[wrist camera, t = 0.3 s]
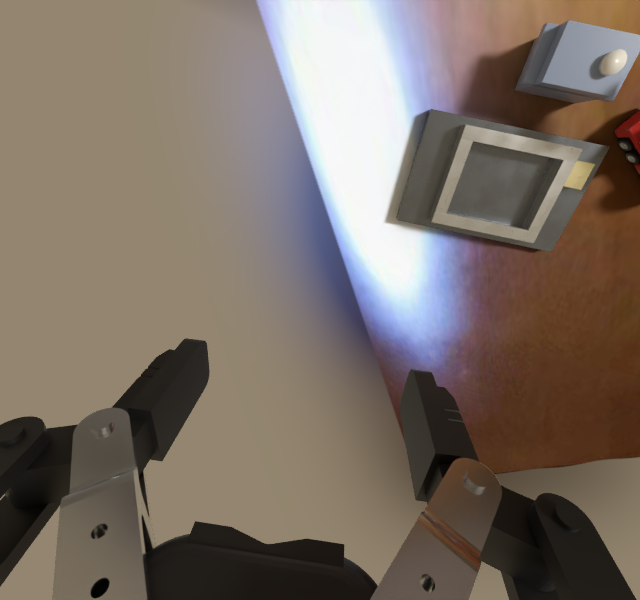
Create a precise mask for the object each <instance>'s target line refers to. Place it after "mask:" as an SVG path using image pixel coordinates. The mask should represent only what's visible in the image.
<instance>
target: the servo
mask: <svg viewBox="0 0 640 600" xmlns="http://www.w3.org/2000/svg"><path fill="white" fill-rule="evenodd" d="M639 52H640V35H637V34H632V33H627V32H622V31H618V30H613V29H608V28H604V27H599V26H594V25H589V24H585V23H580V22H575V21H571V20H568V21H566V22H565V23H563V24H561V25H556V24H551V23H546V24H544V25H543V27H542V30H541V32H540V35H539V37H537V38H536V39H535V40H534V43H533V45H532V48H531V50H530V53H529V55H528V58H527V60H526V63H525V65H524V68H523V70H522V73H521V75H520V78H519V80H518V83H517V85H516V88H515V90H514V91H519V92H524V93H528V94H533V95H538V96H543V97H547V98H552V99H557V100H562V101H566V102H571V103H579V102H585V101H591V100H597V99H598V100H602V101H607V102H610V101H614V99H615V97H616V95H617V93H618V91H619V89H620V88H621V86H622V84H623V82H624V80H625V78H626V76H627V74H628V73H629V71H630V69H631V67H632V65H633V63H634V61H635V59H636V58H637V56H638V54H639Z"/></svg>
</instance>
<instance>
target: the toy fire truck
mask: <svg viewBox="0 0 640 600" xmlns="http://www.w3.org/2000/svg"><path fill="white" fill-rule="evenodd" d="M614 132H615V135H616V136H617V137H618V138H622V137H624V138H622V139H621V140H619V142H618V145H619V147H620V148H621V149H622V150H625V151H629V152H628V153H627V154H626V159H627V161H629V162H630V163H633V164H635V165H634V166H635V168H636V170H637V172H638V174H639V175H640V110H639V111H638V112H637V113H635V114H634V115H633V116H632V117H630V118H629V119H628V120H627V121H625V122H624V123H623V124H622V125H620V126H619V127H618V128H617V129H615V131H614ZM631 149H633V150H632V151H630V150H631Z"/></svg>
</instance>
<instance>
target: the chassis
mask: <svg viewBox="0 0 640 600" xmlns="http://www.w3.org/2000/svg"><path fill="white" fill-rule="evenodd" d="M609 148H610V147H609V146H605V145H600V144H595V143H590V142H585V141H581V140H576V139H571V138H566V137H562V136H557V135H552V134H547V133H543V132H538V131H533V130H528V129H523V128H519V127H514V126H509V125H504V124H500V123H495V122H490V121H485V120H480V119H476V118H471V117H466V116H461V115H457V114H452V113H447V112H442V111H438V110H433V109H430V110H428V114H427V117H426V120H425V124H424V127H423V130H422V134H421V137H420V140H419V144H418V147H417V151H416V154H415V157H414V161H413V164H412V167H411V171H410V174H409V177H408V181H407V184H406V187H405V191H404V194H403V198H402V201H401V204H400V208H399V211H398V214H397V220H400V221H405V222H409V223H414V224H419V225H424V226H429V227H434V228H438V229H443V230H448V231H453V232H458V233H462V234H467V235H472V236H477V237H482V238H487V239H491V240H496V241H501V242H506V243H511V244H516V245H520V246H525V247H530V248H535V249H540V250H544V251H549V252H552V250H553V248H554V246H555V245H556V243H557V241H558V239H559V237H560V236H561V234H562V232H563V230H564V228H565V227H566V225H567V223H568V221H569V220H570V218H571V216H572V214H573V212H574V211H575V209H576V207H577V205H578V203H579V202H580V200H581V198H582V196H583V195H584V193H585V191H586V189H587V187H588V186H589V184H590V182H591V180H592V178H593V177H594V175H595V173H596V171H597V170H598V168H599V166H600V164H601V162H602V161H603V159H604V157H605V155H606V153H607V152H608V150H609Z"/></svg>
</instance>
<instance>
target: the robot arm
mask: <svg viewBox="0 0 640 600" xmlns="http://www.w3.org/2000/svg"><path fill="white" fill-rule="evenodd" d="M208 378H209V362H208V351H207V343H206V342H205V341H202V340H193V339H184V340H183V341H182V342H181V343H180V344H179V346H178V347H177V348H176V349H175V350H168V351H166V352H164V353H163V354H161V355H159V356H158V357H156V358H155V360H154V361H153V362H152V363H151V364H150V365H149V366H148V369H146V370H145V371H144V372H143V373H142V374H141V377H139V378H138V379H137V380H136V381H135V382H134V383H133V384H132V385H131V387H130V388H129V389H128V390H127V391H126V392H125V393H124V394H123V396H122V397H121V398H120V399H119V400H118V401H117V402H116V403H115V405H114V406H113V407H112V408H107V409H103V410H99V411H97V412H94V413H92V414H91V415H89V416H87V417H86V418H85V419H83V420H82V421H81V422H80V423H79V424H78V425H72V426H65V427H56V428H48V429H46V426H45V424H44V422H43V421H42V420H41V419H40V418H37V417H21V418H17V419H14V420H11V421H8V422H6V423H3V424H1V425H0V498H1V497H2V496H3V495H4V494H5V496H4V497H3V498H2V499H1V500H0V586H1V585H2V583H3V582H4V581H5V579H6V578H7V577H8V575H9V574H10V572H11V571H12V570H13V568H14V567H15V566H16V564H17V563H18V562H19V560H20V559H21V558H22V556H23V555H24V553H25V552H26V550H27V549H28V548H29V546H30V545H31V544H32V542H33V541H34V540H35V538H36V537H37V536H38V534H39V533H40V531H41V530H42V529H43V527H44V526H45V525H46V523H47V522H48V521H49V519H50V518H51V516H52V515H53V514H54V512H55V511H56V510H57V508H58V507H59V506H60V514H59V526H58V538H57V549H56V561H55V573H54V586H53V598H52V600H468V599H469V597H470V594H471V591H472V588H473V586H474V583H475V580H476V577H477V574H478V572H479V569H480V565H481V561H483V562H485V563H486V564H488V565H490V566H492V567H494V568H496V569H498V570H500V571H501V573H502V577H503V580H504V583H505V587H506V590H507V593H508V597H509V600H636V598H635V596H634V595H633V593H632V591H631V589H630V588H629V586H628V584H627V582H626V581H625V579H624V577H623V576H622V574H621V572H620V570H619V569H618V567H617V565H616V563H615V561H614V560H613V558H612V556H611V555H610V553H609V551H608V549H607V548H606V546H605V544H604V542H603V541H602V539H601V537H600V535H599V534H598V532H597V530H596V529H595V527H594V525H593V523H592V522H591V521H590V519H589V518H588V517H587V516H586V515H585V513H583V511H582V510H580V509H579V508H578V507H577V506H576V505H574V504H573V503H571V502H570V501H569V500H567V499H565V498H563V497H561V496H558V495H556V494H552V493H544V494H541V495H539V496H538V497H537V499H536V500H535V501H534V500H532V499H530V498H527V497H524V496H523V495H520V494H518V493H516V492H513V491H511V490H509V489H507V488H505V487H503V486H501V485H500V483H499V481H498V479H497V478H496V476H495V475H494V474H493V473H492V471H491V470H489V469H488V468H487V467H486V466H485V465H483V464H481V463H480V462H479V460H478V457H477V455H476V452H475V450H474V447H473V445H472V442H471V439H470V437H469V434H468V432H467V429H466V427H465V424H464V423H463V419H462V417H461V414H460V413H459V409H458V407H457V404H456V402H455V399H454V398H453V397H452V395H451V394H450V393H449V392H448V391H447V390H446V388H444V387H437V385H436V382H435V379H434V376H433V374H432V373H431V372H427V371H420V370H413V369H411V370H410V372H409V374H408V378H407V381H406V384H405V388H404V391H403V394H402V398H401V403H400V415H401V420H402V426H403V432H404V437H405V443H406V449H407V454H408V460H409V465H410V471H411V477H412V482H413V488H414V493H415V499H416V500H419V501H425V502H427V507H426V508H425V510H424V512H422V513H421V514H420V516H419V517H418V519H417V521H416V522H415V524H414V526H413V528H412V529H411V531H410V533H409V534H408V536H407V538H406V539H405V541H404V543H403V544H402V546H401V548H400V550H399V551H398V553H397V555H396V557H395V558H394V560H393V561H392V563H391V565H390V567H389V568H388V570H387V572H386V573H385V575H384V577H383V579H382V580H381V582H380V583H379V586H377V584H376V583H375V582H374V581H373V579H372V578H371V577H370V576H369V575H368V574H367V573H366V572H365V571H364V570H363V569H361V568H360V567H359V566H358V565H356V564H355V563H353V562H352V561H350V560H348V559H346V558H344V544H338V543H331V542H325V541H318V540H311V539H302V540H296V541H289V542H282V543H275V544H264V543H262V542H260V541H258V540H256V539H254V538H252V537H250V536H248V535H246V534H244V533H242V532H240V531H238V530H236V529H234V528H232V527H228V526H221V525H215V524H208V523H202V522H195V523H194V526H193V528H192V531H191V533H190V534H187V535H183V536H180V537H176V538H174V539H171V540H169V541H166V542H164V543H162V544H160V545H158V546H157V547H156V542H155V537H154V533H153V528H152V522H151V514H150V507H149V501H148V493H147V486H146V479H145V473H144V468H145V467H146V465H147V463H148V462H149V460H150V459H151V460H157V461H163V459H164V457H165V455H166V454H167V452H168V450H169V449H170V447H171V445H172V444H173V442H174V440H175V438H176V437H177V435H178V433H179V431H180V430H181V428H182V427H183V425H184V423H185V421H186V420H187V418H188V416H189V414H190V413H191V411H192V409H193V408H194V406H195V404H196V402H197V401H198V399H199V397H200V396H201V394H202V392H203V390H204V389H205V387H206V385H207V382H208Z"/></svg>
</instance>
